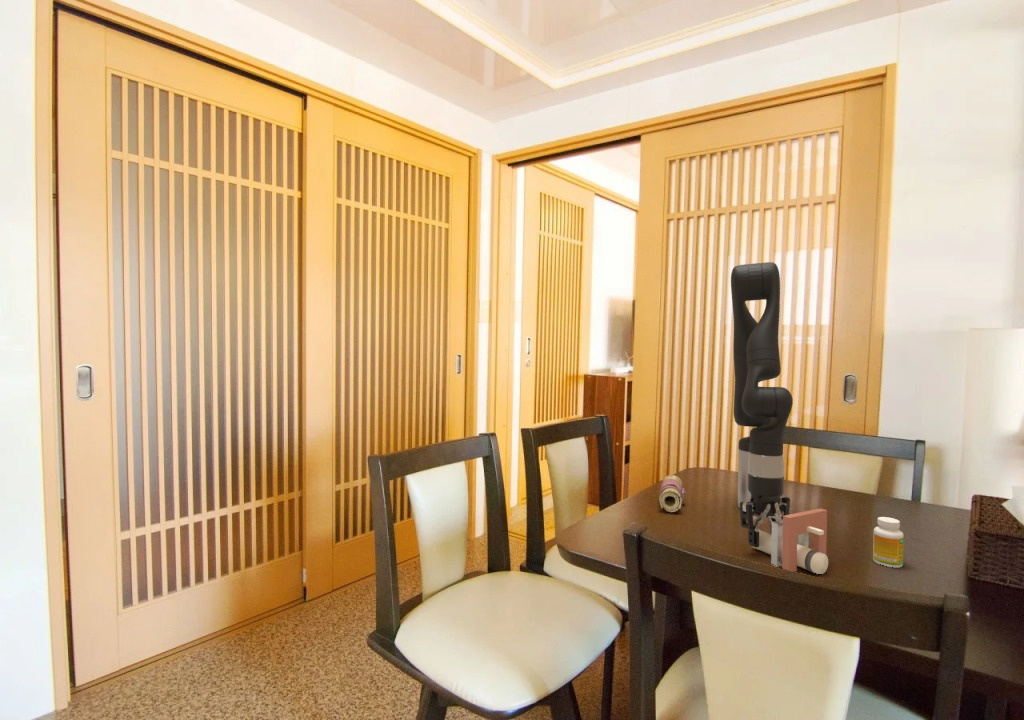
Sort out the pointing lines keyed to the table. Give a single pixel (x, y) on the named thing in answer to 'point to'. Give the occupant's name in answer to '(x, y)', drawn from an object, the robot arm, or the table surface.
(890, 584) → the table surface
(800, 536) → the grey u-shaped panel
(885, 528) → the supplement bottle
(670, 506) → the scroll
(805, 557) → the white long cylinder
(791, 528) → the wall
